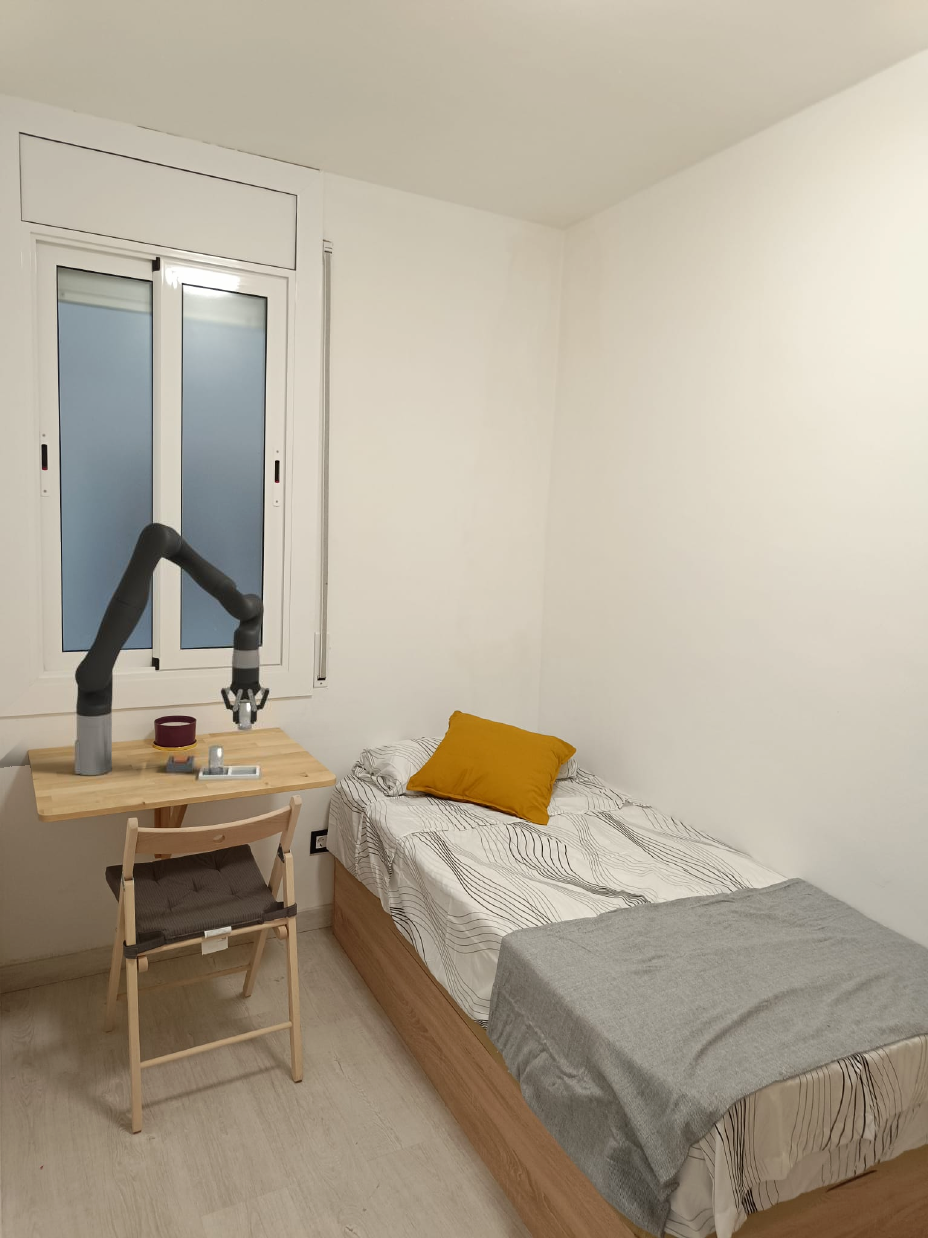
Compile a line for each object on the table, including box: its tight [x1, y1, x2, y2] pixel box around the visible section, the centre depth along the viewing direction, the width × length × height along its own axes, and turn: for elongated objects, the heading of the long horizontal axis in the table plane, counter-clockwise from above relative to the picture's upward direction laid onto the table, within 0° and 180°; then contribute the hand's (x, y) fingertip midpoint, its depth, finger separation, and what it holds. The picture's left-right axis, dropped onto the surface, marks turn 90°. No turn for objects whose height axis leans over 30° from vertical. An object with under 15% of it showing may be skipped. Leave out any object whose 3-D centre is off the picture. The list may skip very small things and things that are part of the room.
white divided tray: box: [196, 765, 262, 782], centre depth 240 cm, size 17×10×2 cm, turn 103°
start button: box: [173, 755, 189, 762], centre depth 242 cm, size 4×4×2 cm
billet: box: [237, 700, 253, 732], centre depth 239 cm, size 4×4×8 cm
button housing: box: [165, 755, 195, 774], centre depth 242 cm, size 7×7×4 cm
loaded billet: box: [207, 745, 224, 775], centre depth 239 cm, size 4×4×8 cm
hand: (244, 723), depth 239 cm, fingers closed on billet, 4 cm apart
